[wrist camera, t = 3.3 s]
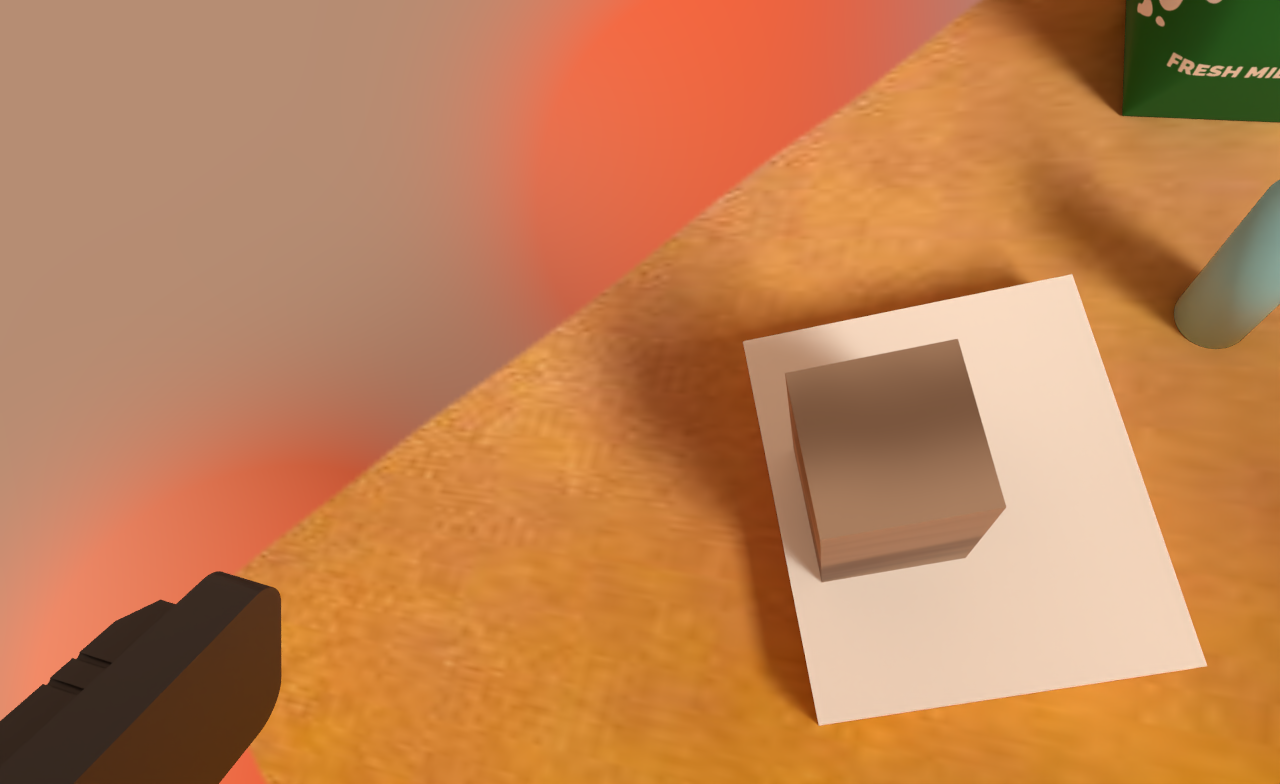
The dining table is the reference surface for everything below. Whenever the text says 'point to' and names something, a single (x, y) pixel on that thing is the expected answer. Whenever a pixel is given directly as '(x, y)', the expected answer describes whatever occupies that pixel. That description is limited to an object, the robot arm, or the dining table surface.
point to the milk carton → (1202, 59)
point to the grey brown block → (892, 460)
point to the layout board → (1016, 542)
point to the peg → (1236, 281)
